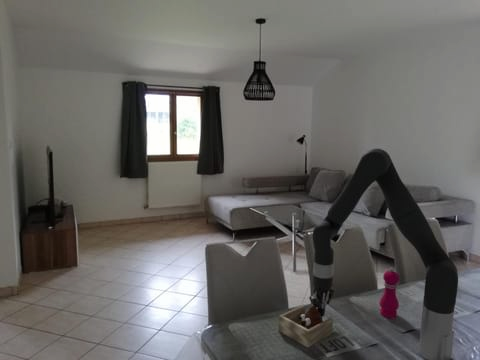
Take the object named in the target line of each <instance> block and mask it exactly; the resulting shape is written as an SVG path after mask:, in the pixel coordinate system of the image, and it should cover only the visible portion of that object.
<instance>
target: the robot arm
mask: <svg viewBox="0 0 480 360" xmlns="http://www.w3.org/2000/svg"><path fill="white" fill-rule="evenodd" d="M375 181H376V183H377V185H378V186H379V187H380V190H381V192H382V195H383V197H384V200H385V204H386V207H387V210H388V212H389V215H390V217H391V219H392V220H393V222H394V223H395V225H396V227H397V228H398V230H399V231H400V233H401V235H403V238H405V239H406V240H407V241H408V242H409V243H410V244H411V245H412V247H414V249H415V250H416V252H417V253H418V255H419V257H420V259H421V261H422V263H423V265H424V267H425V282H424V292H423V302H422V312H421V313H422V314H421V321H420V322H421V325H420V332H419V333H420V334H419V344H418V353H419V355H420V356H421V357H422V358H424V359H426V360H451V358H452V354H453V346H454V337H455V331H454V330H453V327H454V326H453V323H454V315H455V307H456V301H457V296H458V295H457V294H458V288H459V273H458V272H459V271H458V268H457V266H456V265H455V263H454V262H453V260H452V259H451V258H450V257H449V255H448V254H447V253H446V251H445V250H444V249H443V247H442V246H441V245H440V243H439V241H438V240H437V238H436V236H435V233H434V231H433V230H432V227H431V225H430V223H429V222H428V220H427V218H426V216H425V214H424V213H423V211H422V209H421V208H420V206H419V205H418V203H417V202H416V200H415V198H414V197H413V196H412V194H411V192H410V191H409V190H408V188H407V187H406V185H405V184H404V182H403V181H402V179H401V178H400V175H399V173H398V171H397V169H396V167H395V164H394V163H393V161H392V158H391V156H390V154H389V153H388V152H387V151H385V150H384V149H382V148H373V149H370V150H367V151H366V152H365V153H363V154H362V156H361V158H360V159H359V162H358V164H357V167H356V168H355V170H354V173H353V175H352V176H351V178H350V180H349V181H348V183H347V184H346V186H345V187H344V189H343V190H342V191H340V192H341V193H339V195H338V196H337V198H336V199H335V200H334V202H333V203H332V205H331V206H330V207H329V209H328V211H327V215H326V216H325V218H324V219H323V221H321V222H320V223H318V224H317V225H316V226H315V227H314V228H313V230H312V244H313V249H314V255H313V256H314V257H313V267H312V285H313V287H314V289H313V294H312V295H309V297H308V298H309V301H310V302H311V304H312V306H316V308H317V309H318V311H319V313H320V314H321V317H322V318H323V317H325V313H326V307H327V305H329V304H330V303H331V300H332V298H333V296H334V294H335V290H334V288H333V289H332V287H333V285H334V255H335V254H334V249H333V247H332V246H331V245H332V244H331V241H332V239H333V238H335V236H336V235H338V233H339V232H340V230H341V229H342V226H343V225H344V223H345V222H346V221H347V219H348V218H349V217H350V216H351V214H352V213H353V211H354V210H355V208H356V207H357V206H358V204H359V202H360V200H361V199H362V196H363V195H364V193H365V192H366V191H367V189H369V187H370V186H371V185H372V184H373V183H374V182H375Z"/></svg>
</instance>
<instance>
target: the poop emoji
mask: <svg viewBox="0 0 480 360" xmlns="http://www.w3.org/2000/svg"><path fill="white" fill-rule="evenodd" d="M300 320H301V322H300V325H301V326H303V327H305V328H306V329H310V328H312V327H314V326H316V325H317V324H319V323H321V322H323V321H324V320H323V317H321V314H320V313H319V311H318V308H317V307H316V306H314V305H312V306H310V307H309V308H308V309H307V311H306V310H305V314H302V315H301V316H300Z"/></svg>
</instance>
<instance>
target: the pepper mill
mask: <svg viewBox="0 0 480 360" xmlns="http://www.w3.org/2000/svg"><path fill="white" fill-rule="evenodd" d="M382 279H383V281H384V282H383V286H384V287H385V288H384V293H383V294H382V295H381V298H380V300H379V306H380V311H379V313H380V315H381V316H382V317H384V318H386V319H387V318H388V319H394V318H395V319H396V317H397V316H398V315H397V314H398V312H397V310H399V306H400V304H399V300H398V297H397V294H396V291H397V288H398V283H399V281H400V274H399V273H398V272H396V271H395V268H394V267H389V270H387V271H385V272H384V274H383V278H382Z"/></svg>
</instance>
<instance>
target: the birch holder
mask: <svg viewBox="0 0 480 360" xmlns="http://www.w3.org/2000/svg"><path fill="white" fill-rule="evenodd" d="M305 313H306V305H305V304H302V305H299V306H297V307H295V308H293V309H290V310H288V311H286V312H285V313H281V314H279V316H278V331H279V332H280V333H281V334H283V335H285V336H287V337H289V338H290V339H292V340H294V341H296V342H298V343H299V344H300V345H303V346H304V347H306V348H310V347H312V346H313V345H315V344H317V343H318V342H320V341H322V340H323V339H326V338H327V337H329V336H330V335H332V334H333V328H334V327H333V326H334V318H333V317H328V318H327V319H325V320H323V322H321V323H319V324H317V325H316V326H314V327H312V328H310V329H306V328H305V327H303V326H301V324H299V323H301V320H300V316H301V315H302V314H305Z"/></svg>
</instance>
